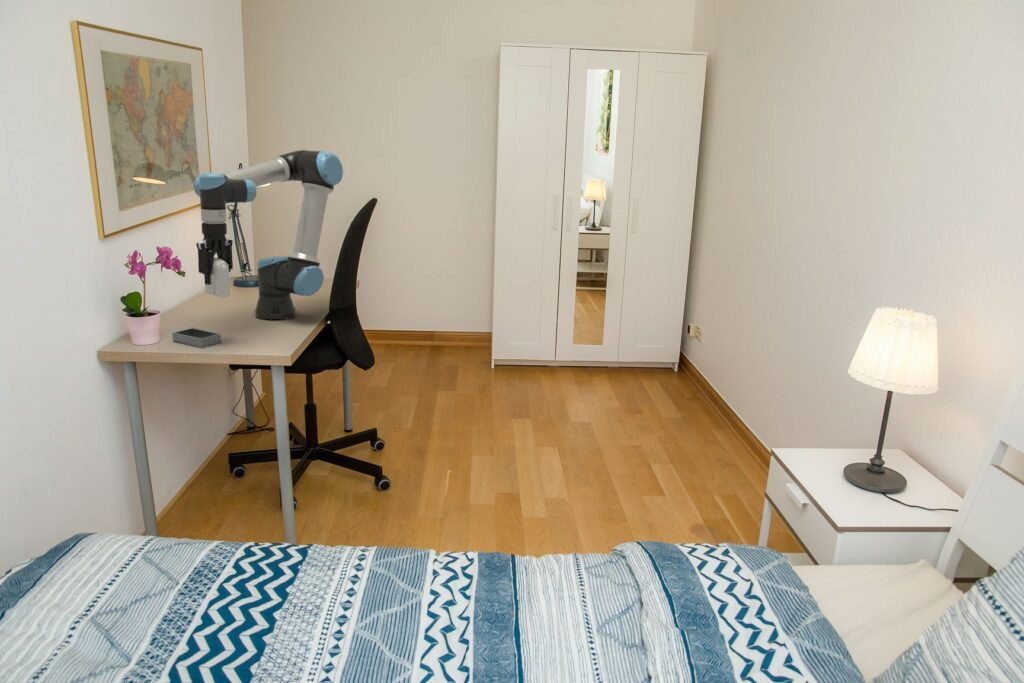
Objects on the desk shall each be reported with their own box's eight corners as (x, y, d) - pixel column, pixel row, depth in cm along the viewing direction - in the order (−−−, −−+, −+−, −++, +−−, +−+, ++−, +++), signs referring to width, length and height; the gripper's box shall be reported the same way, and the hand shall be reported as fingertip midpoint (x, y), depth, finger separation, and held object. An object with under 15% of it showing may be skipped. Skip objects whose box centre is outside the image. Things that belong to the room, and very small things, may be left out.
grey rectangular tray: (192, 336, 253) (192, 327, 252) (221, 342, 248) (220, 333, 247) (172, 341, 246) (172, 332, 245) (201, 348, 241) (201, 339, 240)
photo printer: (203, 293, 245) (201, 256, 242) (215, 291, 249) (213, 255, 245) (219, 298, 239) (218, 260, 236) (231, 296, 243) (230, 259, 239)
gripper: (200, 225, 228) (204, 298, 234) (243, 221, 244) (245, 289, 250) (182, 223, 231) (187, 295, 237) (226, 219, 247) (228, 286, 253)
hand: (217, 292), depth 244 cm, fingers closed on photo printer, 5 cm apart
